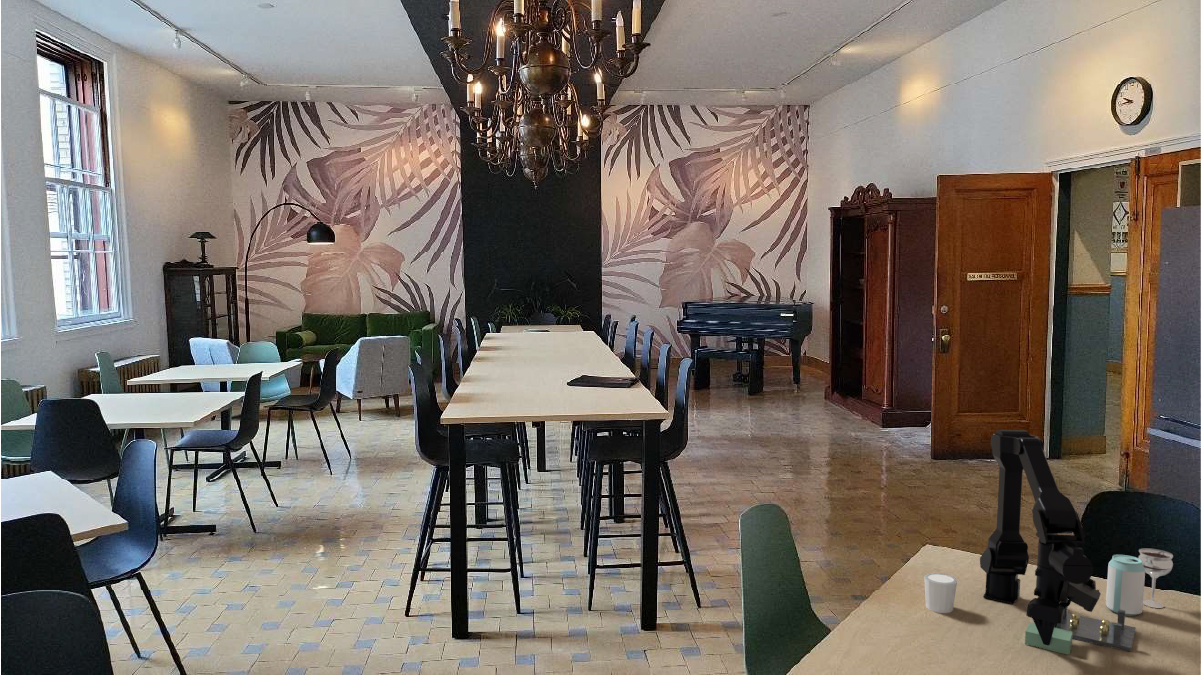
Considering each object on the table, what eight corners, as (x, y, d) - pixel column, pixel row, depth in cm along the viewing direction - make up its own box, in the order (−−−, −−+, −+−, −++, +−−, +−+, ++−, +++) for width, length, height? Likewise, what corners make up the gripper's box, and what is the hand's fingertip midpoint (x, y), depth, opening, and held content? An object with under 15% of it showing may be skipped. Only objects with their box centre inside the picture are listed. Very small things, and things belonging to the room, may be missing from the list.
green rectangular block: (1024, 644, 179) (1025, 631, 179) (1029, 634, 183) (1029, 621, 183) (1068, 654, 174) (1069, 641, 174) (1072, 644, 179) (1072, 631, 179)
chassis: (1042, 631, 185) (1043, 611, 184) (1051, 612, 195) (1052, 593, 194) (1130, 651, 176) (1132, 630, 175) (1135, 631, 186) (1136, 611, 185)
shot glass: (922, 611, 195) (923, 581, 194) (923, 600, 201) (924, 570, 201) (955, 616, 193) (957, 585, 192) (955, 604, 199) (957, 575, 198)
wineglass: (1170, 612, 195) (1174, 560, 194) (1135, 606, 199) (1138, 554, 198) (1169, 602, 201) (1173, 551, 200) (1134, 596, 204) (1138, 546, 203)
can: (1115, 602, 201) (1119, 551, 200) (1148, 612, 195) (1152, 560, 194) (1099, 608, 197) (1102, 557, 196) (1132, 619, 191) (1135, 566, 190)
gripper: (1092, 588, 165) (1087, 667, 167) (1103, 560, 180) (1099, 633, 182) (1028, 575, 171) (1023, 652, 173) (1043, 549, 187) (1039, 620, 188)
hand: (1048, 639), depth 179 cm, fingers closed on green rectangular block, 5 cm apart
